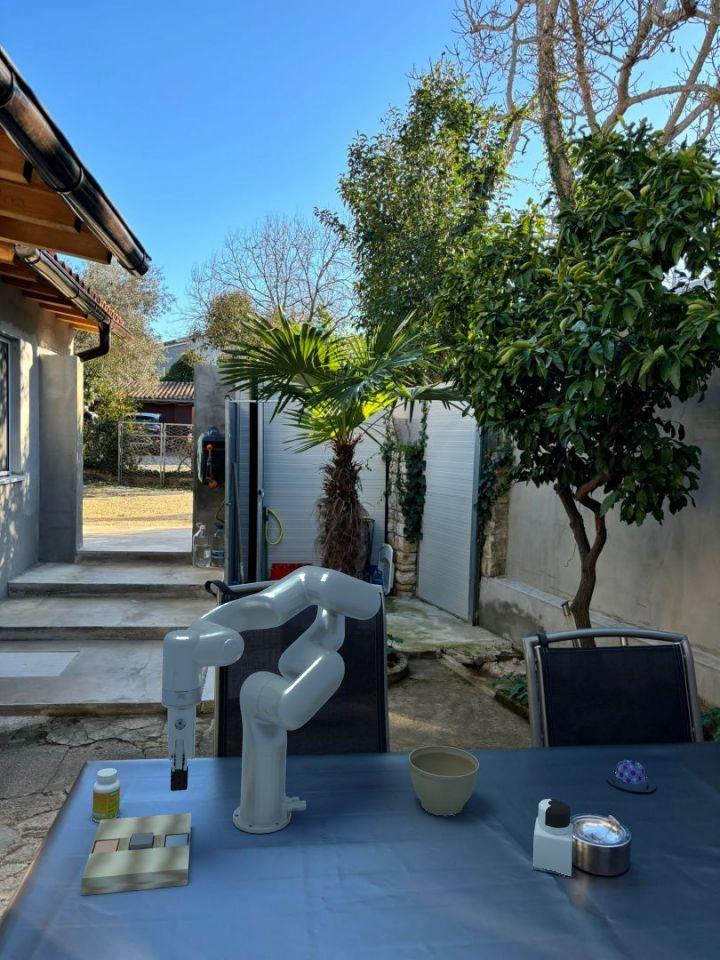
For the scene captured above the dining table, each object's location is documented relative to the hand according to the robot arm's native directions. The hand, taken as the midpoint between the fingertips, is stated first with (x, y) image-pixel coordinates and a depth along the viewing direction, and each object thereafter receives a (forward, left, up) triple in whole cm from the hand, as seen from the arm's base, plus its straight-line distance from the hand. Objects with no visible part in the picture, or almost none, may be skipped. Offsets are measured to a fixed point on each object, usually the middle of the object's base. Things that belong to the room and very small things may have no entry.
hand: (179, 788), depth 128 cm
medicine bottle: (-72, +15, -13) cm, 75 cm away
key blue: (0, 0, -12) cm, 12 cm away
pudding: (-110, -14, -14) cm, 112 cm away
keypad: (+7, 0, -13) cm, 15 cm away
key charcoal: (+7, 0, -11) cm, 13 cm away
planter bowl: (-58, -10, -13) cm, 61 cm away
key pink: (+13, 0, -12) cm, 17 cm away
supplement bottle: (+16, -17, -13) cm, 27 cm away
